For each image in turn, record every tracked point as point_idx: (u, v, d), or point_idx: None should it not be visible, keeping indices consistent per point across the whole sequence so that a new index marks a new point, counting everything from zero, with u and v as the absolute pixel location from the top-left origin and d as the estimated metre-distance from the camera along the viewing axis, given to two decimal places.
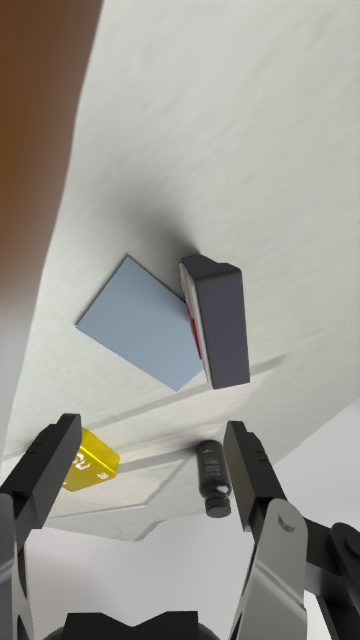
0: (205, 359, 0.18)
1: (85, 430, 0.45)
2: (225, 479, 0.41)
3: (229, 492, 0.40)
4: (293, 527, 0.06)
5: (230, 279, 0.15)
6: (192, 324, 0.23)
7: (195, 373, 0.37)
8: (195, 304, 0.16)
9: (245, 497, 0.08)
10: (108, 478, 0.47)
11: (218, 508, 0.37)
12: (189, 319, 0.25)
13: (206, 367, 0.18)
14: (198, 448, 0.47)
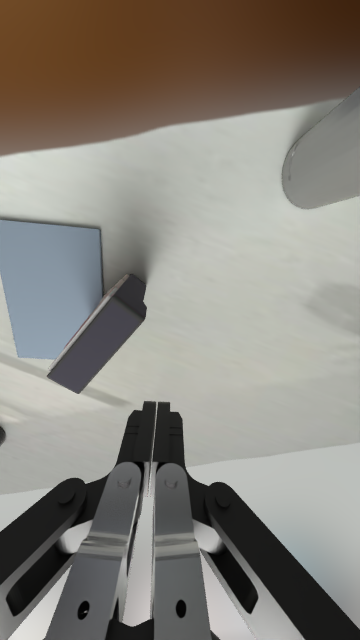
0: (64, 350, 0.19)
1: None
2: None
3: None
4: (173, 484, 0.07)
5: (133, 317, 0.18)
6: None
7: (51, 357, 0.35)
8: (98, 309, 0.18)
9: None
10: None
11: None
12: (90, 314, 0.26)
13: (59, 356, 0.19)
14: None
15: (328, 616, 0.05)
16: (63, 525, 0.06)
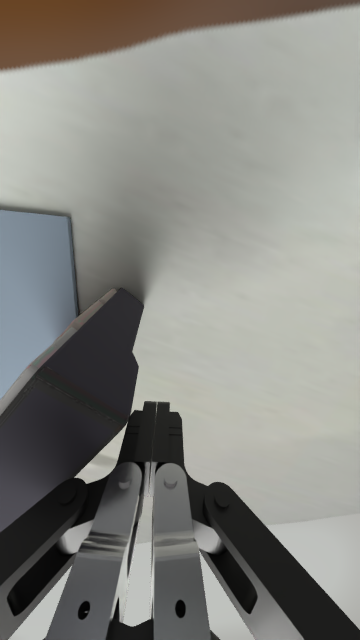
0: None
1: None
2: None
3: None
4: (172, 485, 0.07)
5: (98, 421, 0.07)
6: None
7: None
8: (4, 400, 0.07)
9: None
10: None
11: None
12: None
13: None
14: None
15: (327, 617, 0.05)
16: (64, 525, 0.06)
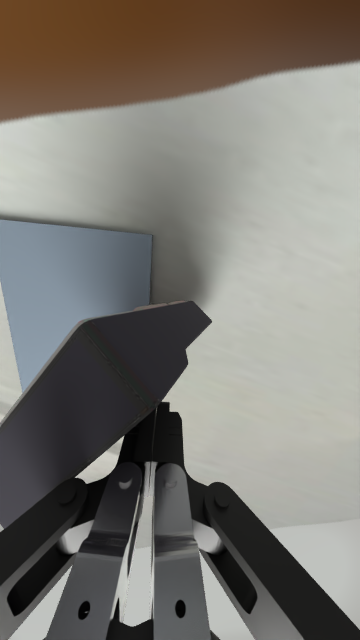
0: None
1: None
2: None
3: None
4: (172, 485, 0.07)
5: (124, 394, 0.06)
6: None
7: None
8: (56, 352, 0.07)
9: None
10: None
11: None
12: None
13: None
14: None
15: (327, 616, 0.05)
16: (64, 525, 0.06)
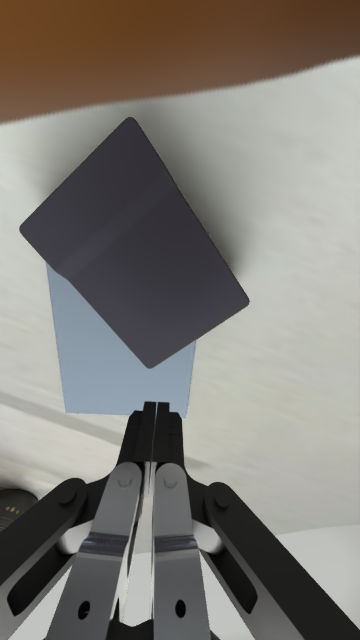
0: None
1: None
2: None
3: None
4: (172, 485, 0.07)
5: None
6: None
7: (112, 412, 0.25)
8: None
9: None
10: None
11: None
12: None
13: None
14: (4, 495, 0.29)
15: (327, 616, 0.05)
16: (64, 525, 0.06)
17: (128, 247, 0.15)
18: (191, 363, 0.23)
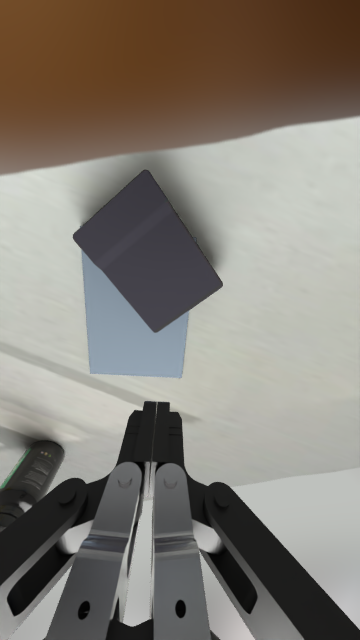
0: None
1: None
2: (40, 498, 0.32)
3: None
4: (172, 484, 0.07)
5: None
6: None
7: (126, 373, 0.33)
8: None
9: None
10: None
11: None
12: None
13: None
14: (38, 444, 0.37)
15: (327, 616, 0.05)
16: (64, 525, 0.06)
17: (142, 248, 0.23)
18: (185, 334, 0.31)
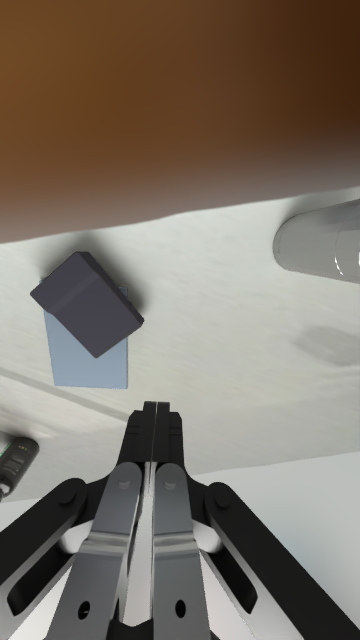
0: None
1: None
2: (15, 481, 0.41)
3: (6, 495, 0.40)
4: (172, 485, 0.07)
5: None
6: None
7: (82, 385, 0.42)
8: None
9: None
10: None
11: None
12: None
13: None
14: (17, 440, 0.46)
15: (327, 616, 0.05)
16: (64, 525, 0.06)
17: (80, 300, 0.32)
18: (125, 356, 0.40)
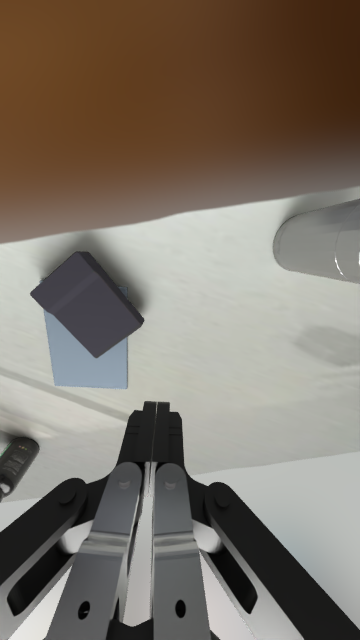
0: None
1: None
2: (15, 481, 0.41)
3: (7, 494, 0.40)
4: (172, 484, 0.07)
5: None
6: None
7: (82, 385, 0.42)
8: None
9: None
10: None
11: None
12: None
13: None
14: (17, 440, 0.46)
15: (327, 616, 0.05)
16: (64, 525, 0.06)
17: (80, 300, 0.33)
18: (125, 356, 0.40)
